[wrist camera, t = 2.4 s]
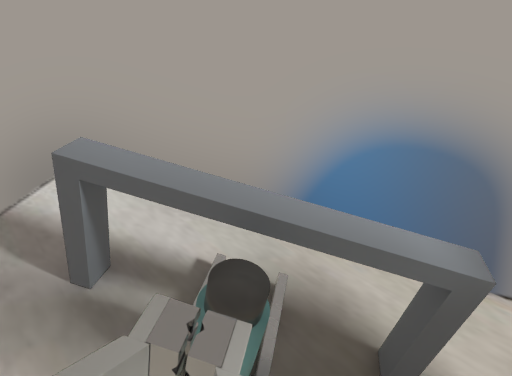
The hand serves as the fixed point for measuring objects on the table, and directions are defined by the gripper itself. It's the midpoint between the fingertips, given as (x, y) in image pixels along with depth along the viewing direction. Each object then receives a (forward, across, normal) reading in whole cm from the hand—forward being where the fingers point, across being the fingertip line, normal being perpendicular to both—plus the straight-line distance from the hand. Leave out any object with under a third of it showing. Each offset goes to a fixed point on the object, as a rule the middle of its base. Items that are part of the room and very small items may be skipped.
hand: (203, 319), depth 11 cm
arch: (+18, 0, +24) cm, 30 cm away
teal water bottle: (+11, 0, +24) cm, 26 cm away
